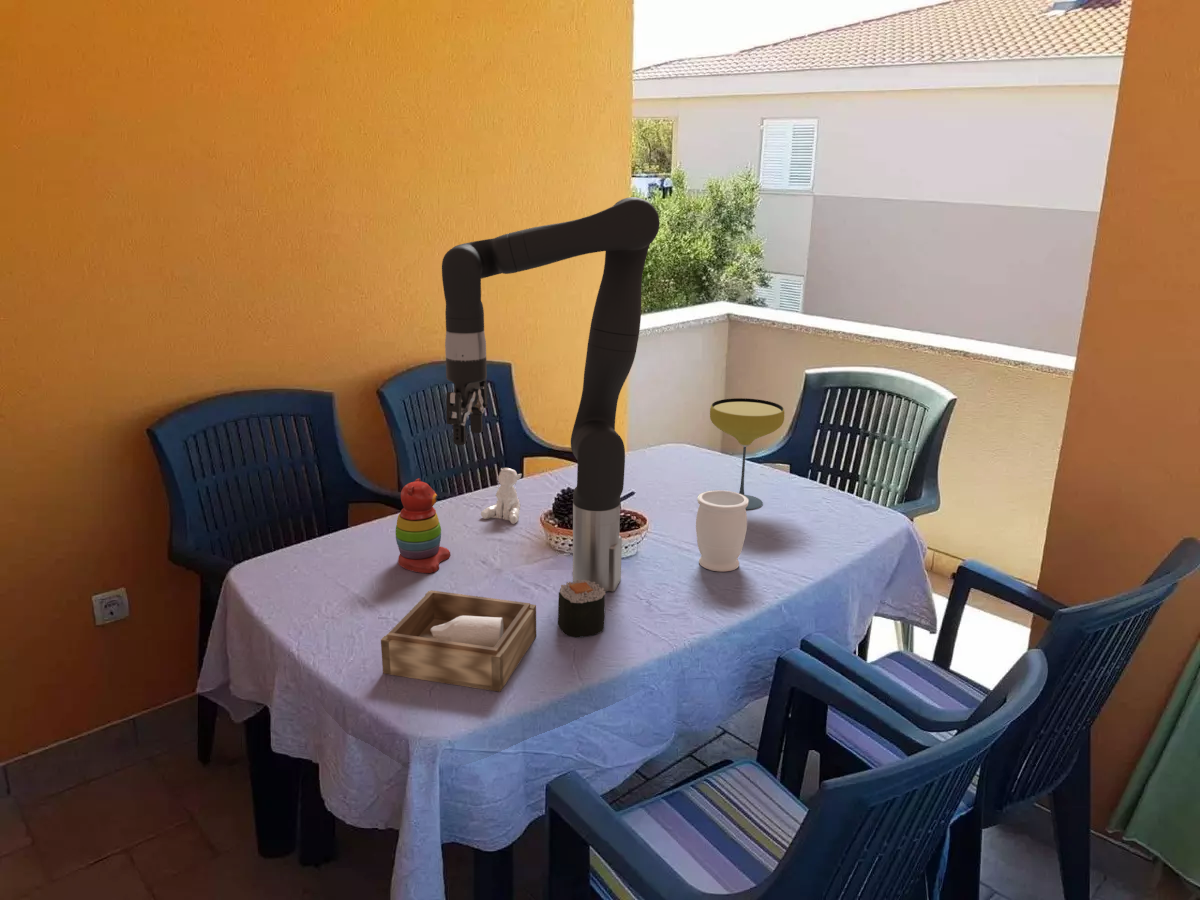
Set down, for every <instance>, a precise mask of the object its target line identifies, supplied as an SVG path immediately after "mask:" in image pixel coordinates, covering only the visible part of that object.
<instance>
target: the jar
mask: <svg viewBox="0 0 1200 900" xmlns="http://www.w3.org/2000/svg"><path fill="white" fill-rule="evenodd" d="M744 495H745V494H744ZM744 495H742V494H739V492H735V491H731V490H721V489H720V490H717V489H716V490H715V489H714V490H708V491H704V492H700V494H698V496H697V500H696V501H697V504H698V505H699V506H698V507H697V508H698V509H697V512H696V516H695V517H696V518H695V520H696V521H695V533H696V539H697V540H696V541H697V548H698V551H699V554H700V555H701V556H700V557H699V558H698V562H699V565H700V566H701V567H702V568H704V569H707V570H709V571H714V572H721V573H723V572H731V571H734V570H736V569H738V568H739V566H740V561H739V559H738V558H739V557H740V556H741V553H742V550H743V548H744V543H745V540H746V535H747V529H748V515H747V510H746V509H745V508H746V507H747V506H748V501H749V500H748V498H747V497H746V496H744Z"/></svg>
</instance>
